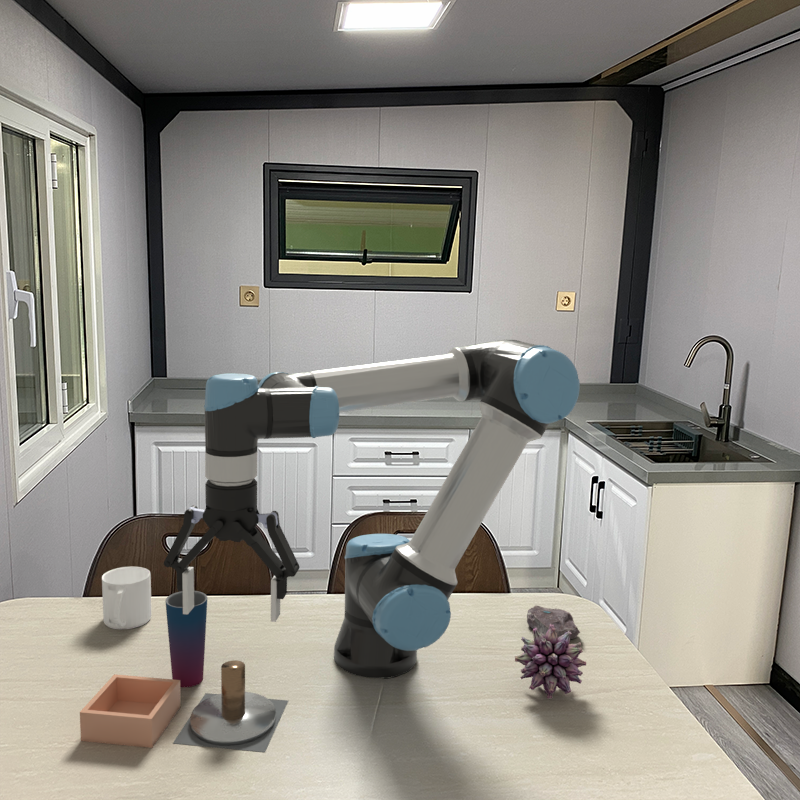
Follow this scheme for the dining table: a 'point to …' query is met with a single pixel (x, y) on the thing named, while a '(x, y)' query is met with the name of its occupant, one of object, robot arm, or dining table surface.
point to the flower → (551, 661)
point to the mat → (257, 745)
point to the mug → (126, 597)
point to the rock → (552, 621)
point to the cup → (187, 638)
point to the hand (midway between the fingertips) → (231, 614)
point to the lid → (232, 711)
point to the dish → (130, 711)
